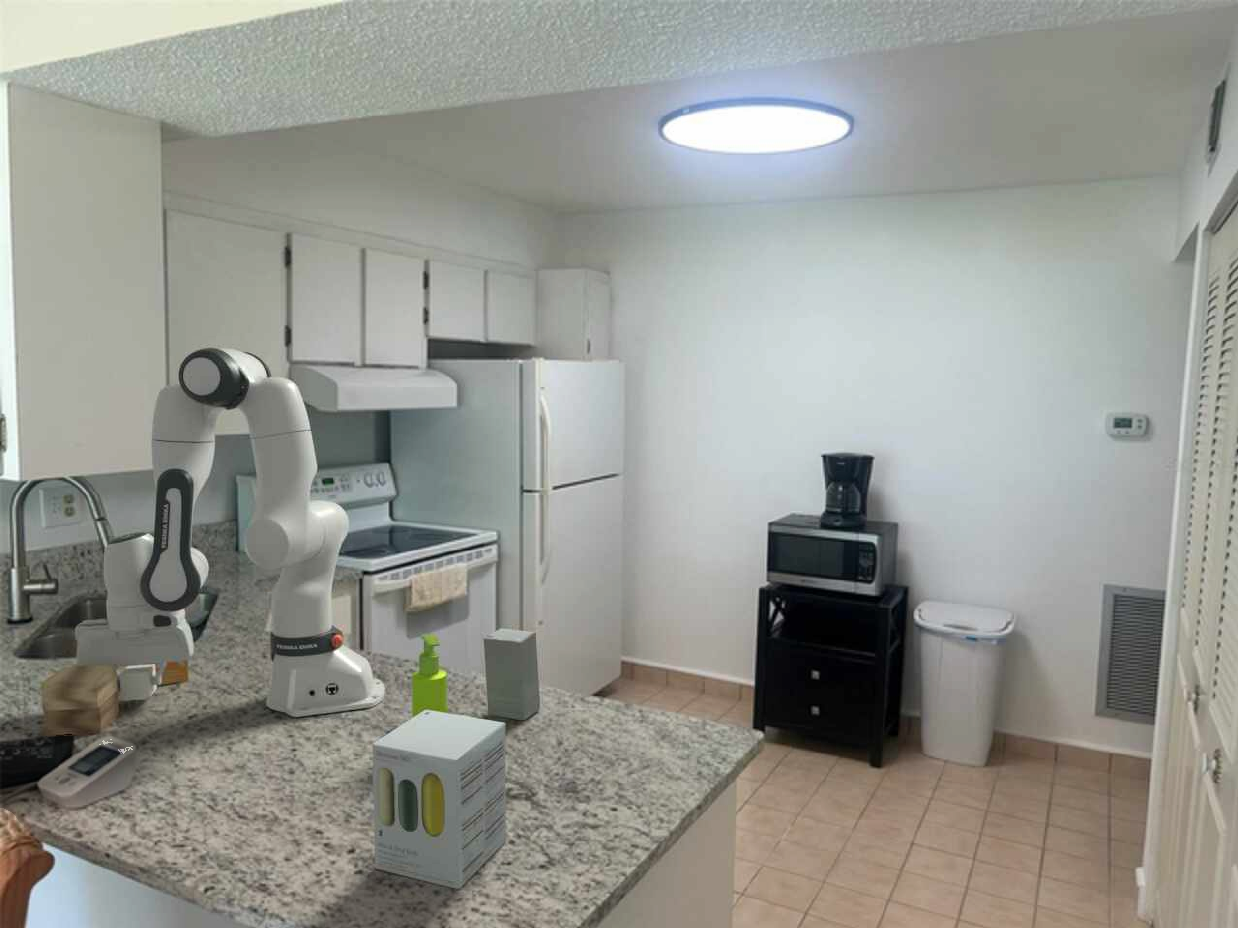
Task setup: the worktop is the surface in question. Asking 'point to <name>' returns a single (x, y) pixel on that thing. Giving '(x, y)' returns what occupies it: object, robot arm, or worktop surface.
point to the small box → (174, 671)
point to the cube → (137, 681)
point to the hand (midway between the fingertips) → (138, 685)
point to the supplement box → (439, 797)
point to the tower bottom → (82, 719)
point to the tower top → (79, 687)
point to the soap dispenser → (429, 680)
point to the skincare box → (512, 674)
